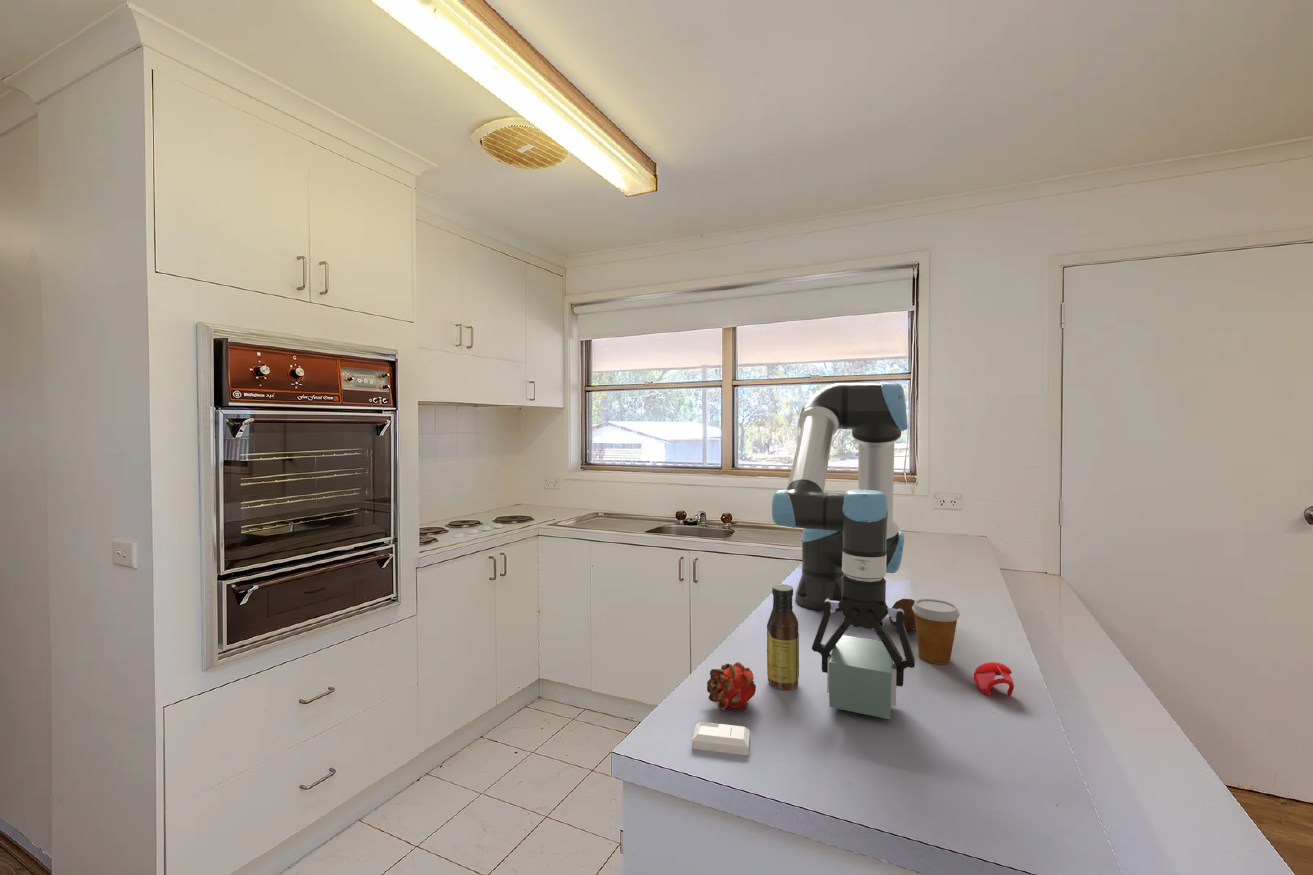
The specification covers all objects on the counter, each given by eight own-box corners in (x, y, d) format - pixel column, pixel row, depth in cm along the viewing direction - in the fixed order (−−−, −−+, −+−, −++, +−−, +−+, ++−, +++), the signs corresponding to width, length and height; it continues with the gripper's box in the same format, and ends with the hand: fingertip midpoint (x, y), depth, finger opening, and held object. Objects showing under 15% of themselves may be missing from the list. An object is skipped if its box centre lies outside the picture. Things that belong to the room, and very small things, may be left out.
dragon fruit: (709, 727, 102) (741, 709, 111) (746, 710, 98) (776, 693, 107) (689, 679, 105) (722, 666, 115) (724, 661, 101) (755, 649, 111)
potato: (924, 627, 145) (925, 596, 145) (918, 640, 137) (919, 607, 137) (893, 621, 149) (894, 591, 149) (886, 633, 141) (886, 602, 141)
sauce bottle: (778, 674, 119) (779, 579, 118) (805, 684, 115) (806, 586, 114) (759, 684, 114) (761, 586, 114) (786, 695, 110) (788, 593, 109)
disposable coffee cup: (964, 669, 121) (966, 614, 121) (916, 665, 123) (917, 610, 123) (951, 651, 131) (952, 599, 130) (906, 647, 133) (907, 596, 132)
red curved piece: (1028, 685, 108) (1013, 657, 113) (1001, 677, 107) (987, 649, 112) (999, 707, 112) (985, 679, 117) (973, 699, 111) (961, 671, 116)
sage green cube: (836, 675, 112) (836, 633, 111) (892, 685, 108) (893, 642, 107) (829, 706, 103) (829, 662, 102) (890, 719, 99) (891, 672, 98)
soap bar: (748, 758, 91) (748, 741, 91) (692, 751, 93) (692, 735, 92) (749, 740, 96) (749, 725, 96) (696, 734, 97) (696, 719, 97)
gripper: (796, 573, 105) (794, 692, 106) (934, 589, 96) (930, 719, 97) (803, 563, 112) (801, 675, 113) (932, 578, 103) (929, 699, 104)
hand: (861, 695), depth 105 cm, fingers closed on sage green cube, 10 cm apart
